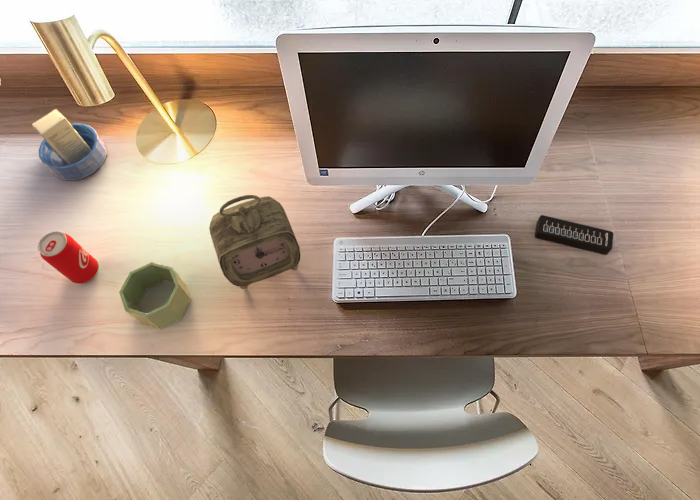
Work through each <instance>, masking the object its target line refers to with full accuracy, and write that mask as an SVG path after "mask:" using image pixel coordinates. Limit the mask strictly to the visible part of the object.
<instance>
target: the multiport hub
mask: <svg viewBox="0 0 700 500" xmlns="http://www.w3.org/2000/svg"><path fill="white" fill-rule="evenodd" d="M534 238H535V239H538V240H542V241H547V242H551V243H554V244H559V245H563V246H566V247H570V248H571V247H572V248H575V249H579V250H584V251H588V252H591V253H595V254H599V255H604V256H607V255H608V254H609V253H610V252H611V251H612V250H613V242H614V232H613V231H612V230H607V229H603V228H600V227H596V226H595V227H594V226H590V225H586V224H582V223H577V222H575V221H574V222H573V221H569V220H565V219H560V218H557V217H552V216H548V215H544V214H541V215H540V216H539V217H538V219H537V220H536V225H535V231H534Z"/></svg>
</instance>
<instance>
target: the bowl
mask: <svg viewBox="0 0 700 500" xmlns="http://www.w3.org/2000/svg"><path fill="white" fill-rule="evenodd" d="M70 124H71V125H72V127H73V128H74V129H75V130H76V132H77V133H78V134H79V135H80V136H81V138H82V139H83V140H84V141H85V143H86V144H87V145H88V146H89V147H90V149H91V152H90V153H89V154H88V155H87V156H86V157H85V158H84V159H82V160H80V161H78V162H77V163H75V164H71V165H68V164H67V163H66V162H65V161H64V160H63V159H62V158H61V156H60V155H59V154H58V153H57V152H56V151H55V150H54V149H53V148H52V147H51V146H50V145H49V143H48V142H47V141H46V140H45V139H44V138H43V140H42V141H41V142H40V144H39V148H38V158H39V160H40V161H41V163H42V164H43V165H44V167H46V168H47V170H48V171H50V173H51V174H52V175H53V176H54V177H57V178H58V179H60V180H64V181H76V180H81V179H84V178H87V177H89V176H90V175H92V174H94V173H95V172H96V171H97V170H98V169H99V168H100V167H102V166H103V164H104V162H105V160H106V158H107V154H108V150H107V145H106V144H105V142H104V140H102V138H101V137H100V135H99V134H98V132H97V131H96V130H95V128H93V127H92V126H90V125H89V124H86V123H83V122H82V123H81V122H73V123H70Z"/></svg>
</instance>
